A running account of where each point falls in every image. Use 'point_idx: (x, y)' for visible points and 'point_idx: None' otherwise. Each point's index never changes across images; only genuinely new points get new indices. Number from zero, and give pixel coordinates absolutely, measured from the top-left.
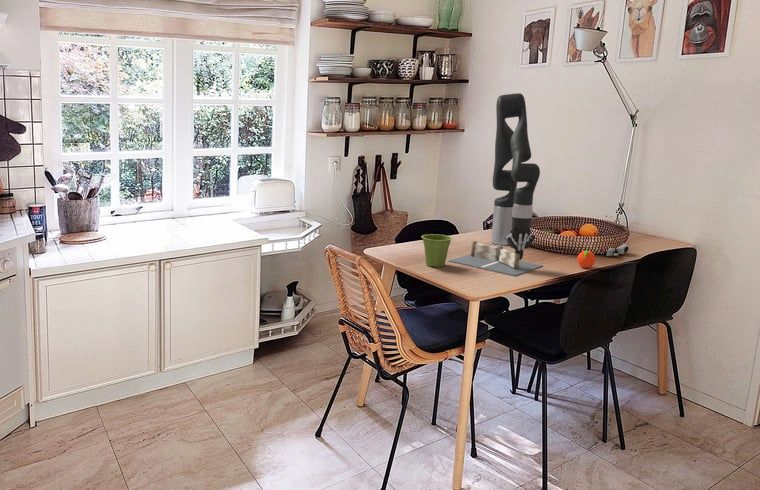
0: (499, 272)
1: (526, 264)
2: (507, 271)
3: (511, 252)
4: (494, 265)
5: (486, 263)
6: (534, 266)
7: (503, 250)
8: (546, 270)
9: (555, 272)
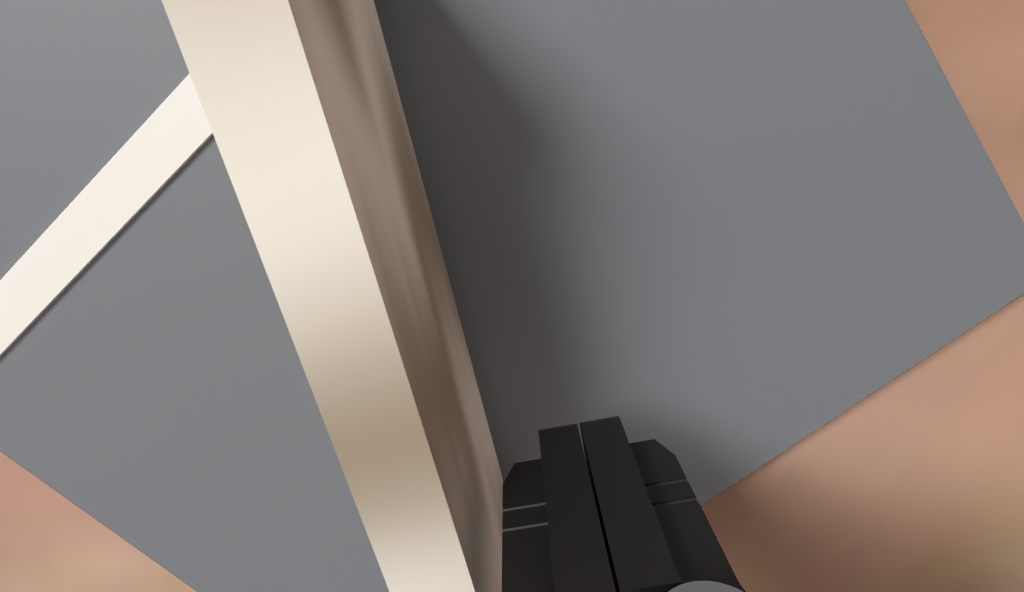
0: (211, 588)
1: (802, 211)
2: (322, 585)
3: (429, 463)
4: (182, 274)
5: (40, 123)
6: (864, 342)
7: (235, 181)
8: (931, 482)
9: (985, 565)
